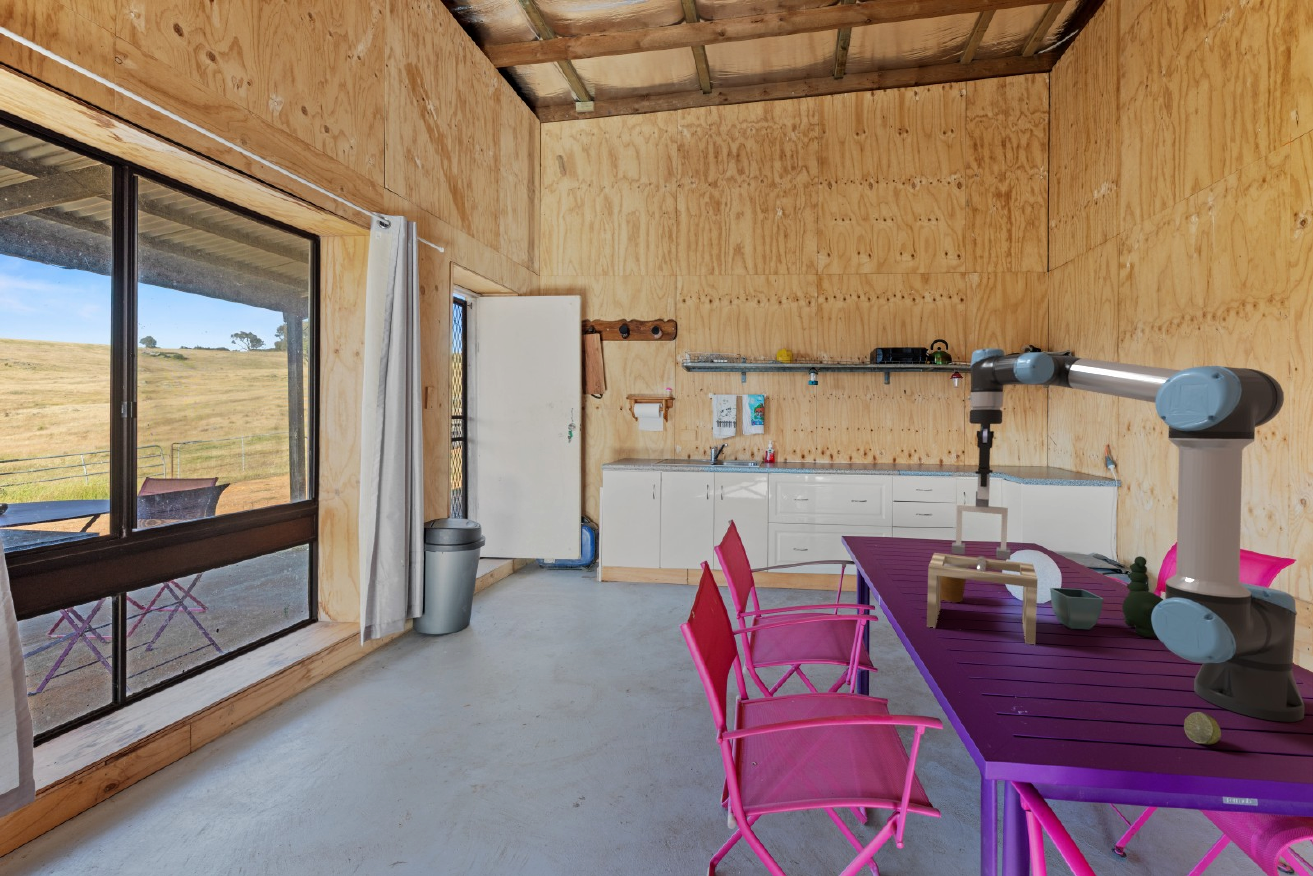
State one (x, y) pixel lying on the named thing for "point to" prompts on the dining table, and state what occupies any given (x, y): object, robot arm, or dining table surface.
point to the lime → (1202, 728)
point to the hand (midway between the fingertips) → (983, 498)
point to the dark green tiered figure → (1140, 600)
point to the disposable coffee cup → (952, 586)
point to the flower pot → (1076, 607)
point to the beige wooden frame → (1024, 579)
